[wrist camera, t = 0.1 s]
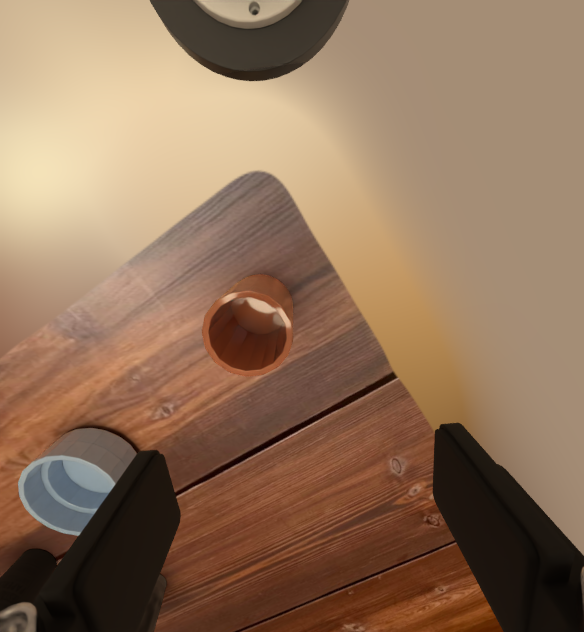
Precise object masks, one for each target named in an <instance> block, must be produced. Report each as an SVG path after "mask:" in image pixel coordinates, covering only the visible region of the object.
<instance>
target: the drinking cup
mask: <svg viewBox="0 0 584 632" xmlns="http://www.w3.org/2000/svg"><path fill="white" fill-rule="evenodd" d="M55 568H56V560H55V558H54V557H53V556H52V555H51V554H50V553H48V552H46V551H44V550H40V549H31V550H28V551H26V552H25V553H24V554H23V555H22V556H21V557H20V558H19V559H18V560H17V561H16V562H15V563H14V564H13V565H12V566H11V567H10V568H9V569H8V570H7V571H6V572H5V573H4V574H3V575H2V577H1V578H0V611H2V610H4V609H6V608H8V607H9V606H12V605H15V604H18V603H21V602H24V603H31V604H32V603H33V602H34V600H35V599H36V598H37V596H38V595H39V591H40V590H41V588H42V587H43V585H44V584H45V583H46V581H47V580H48V578H49V577H50V575H51V574H52V572H53V571H54V569H55Z"/></svg>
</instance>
